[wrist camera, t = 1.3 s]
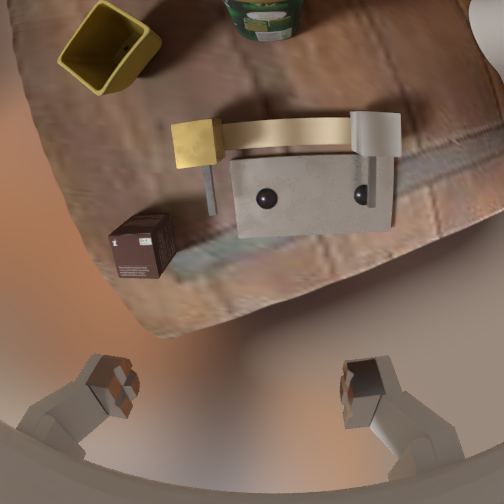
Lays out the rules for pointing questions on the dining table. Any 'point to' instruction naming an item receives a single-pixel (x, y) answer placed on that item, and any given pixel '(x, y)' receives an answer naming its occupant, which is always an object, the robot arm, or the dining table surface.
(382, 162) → the hole plate
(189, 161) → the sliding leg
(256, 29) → the coffee jar
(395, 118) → the beam
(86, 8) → the dining table surface
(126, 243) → the box
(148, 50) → the flower pot
